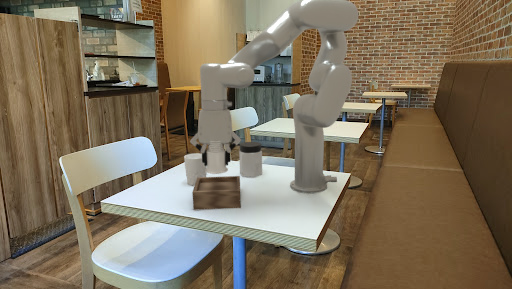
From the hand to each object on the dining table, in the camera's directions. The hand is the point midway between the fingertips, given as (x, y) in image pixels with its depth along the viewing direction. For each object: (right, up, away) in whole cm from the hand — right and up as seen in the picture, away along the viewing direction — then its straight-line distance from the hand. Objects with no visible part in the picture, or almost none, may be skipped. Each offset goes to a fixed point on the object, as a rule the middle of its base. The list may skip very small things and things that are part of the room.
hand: (216, 164), depth 110 cm
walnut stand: (0, -11, +3) cm, 12 cm away
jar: (+10, -6, +29) cm, 31 cm away
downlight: (0, -2, 0) cm, 2 cm away
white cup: (-9, -8, +20) cm, 23 cm away
